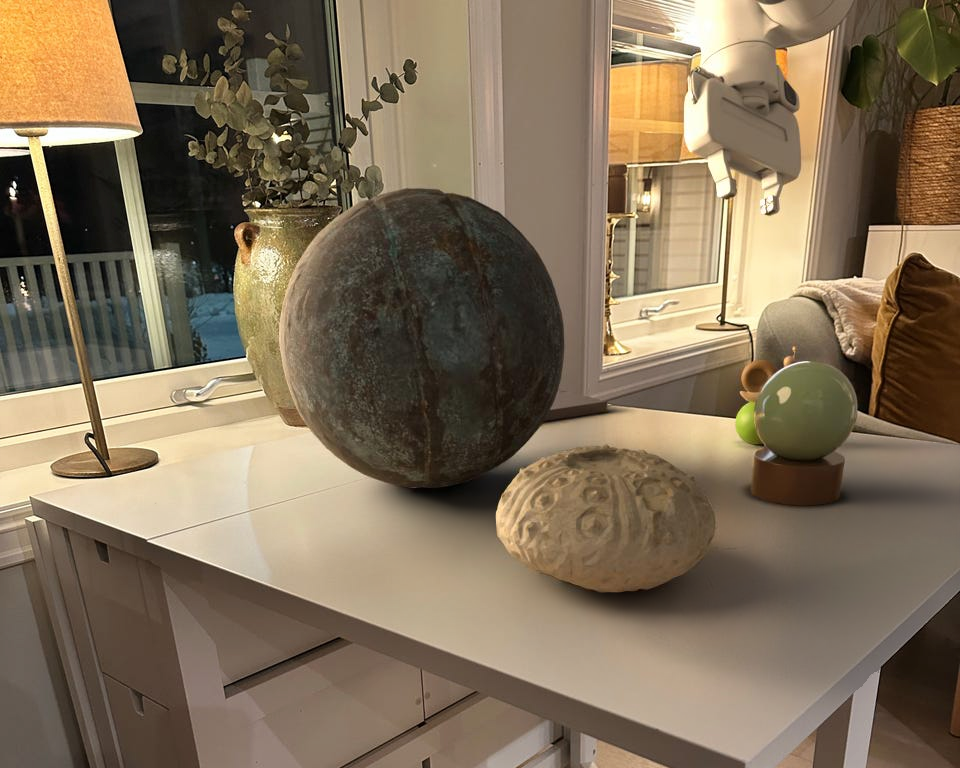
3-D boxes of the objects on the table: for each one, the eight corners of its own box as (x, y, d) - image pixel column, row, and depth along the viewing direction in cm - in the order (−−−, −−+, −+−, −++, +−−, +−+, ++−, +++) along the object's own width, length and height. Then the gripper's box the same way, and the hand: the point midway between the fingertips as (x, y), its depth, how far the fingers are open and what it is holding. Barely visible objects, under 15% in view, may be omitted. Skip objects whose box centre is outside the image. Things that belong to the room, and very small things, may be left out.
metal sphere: (508, 442, 121) (505, 188, 108) (607, 504, 95) (620, 180, 82) (279, 465, 112) (247, 193, 99) (321, 540, 86) (285, 186, 74)
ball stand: (783, 475, 103) (799, 351, 98) (863, 494, 96) (885, 361, 90) (726, 491, 98) (738, 361, 92) (806, 513, 91) (825, 373, 85)
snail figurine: (786, 449, 114) (798, 349, 108) (733, 448, 115) (742, 348, 110) (784, 439, 118) (796, 343, 113) (733, 438, 120) (742, 342, 115)
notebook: (485, 430, 127) (606, 411, 137) (484, 419, 126) (607, 401, 136) (441, 415, 137) (557, 398, 146) (440, 404, 136) (557, 388, 146)
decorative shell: (750, 570, 77) (764, 452, 73) (629, 639, 66) (636, 504, 61) (581, 527, 88) (584, 423, 84) (452, 579, 77) (447, 462, 72)
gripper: (711, 46, 101) (723, 174, 101) (806, 100, 114) (815, 212, 115) (665, 75, 105) (676, 197, 106) (761, 123, 119) (770, 231, 119)
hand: (749, 205), depth 110 cm, fingers open, 8 cm apart
